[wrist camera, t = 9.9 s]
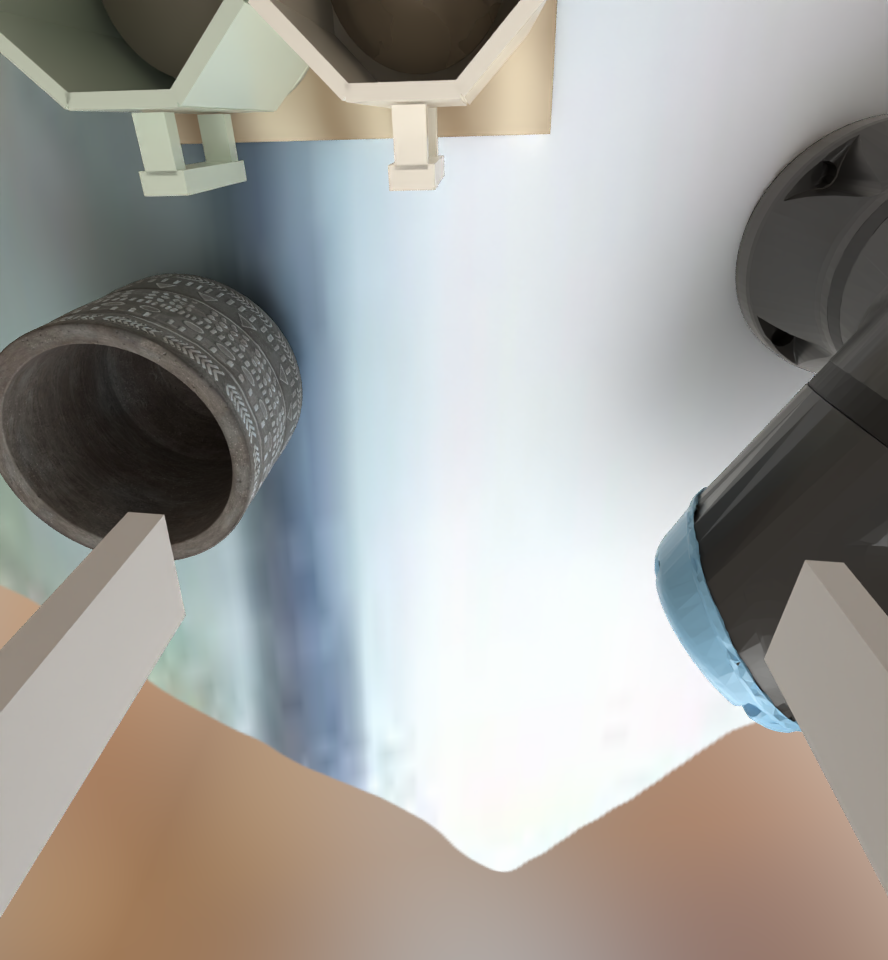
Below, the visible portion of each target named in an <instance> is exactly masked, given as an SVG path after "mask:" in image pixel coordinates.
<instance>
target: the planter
mask: <svg viewBox="0 0 888 960" xmlns="http://www.w3.org/2000/svg"><path fill="white" fill-rule="evenodd" d="M301 406H302V382H301V376H300V371H299V367H298V364H297V361H296V358H295V356H294V353H293V351H292V349H291V347H290V345H289V343H288V341H287V340H286V338H285V336H284V335H283V333H282V332H281V331H280V329H279V328H278V326H277V325H276V324H275V323H274V321H273V320H272V319H271V318H270V317H269V316H268V315H267V314H266V313H265V312H264V311H263V310H262V309H261V308H260V307H259V306H257V305H256V304H255V303H254V302H252V301H251V300H250V299H248V298H247V297H246V296H244V295H243V294H241V293H239V292H238V291H236V290H234V289H232V288H230V287H229V286H226V285H224V284H222V283H219V282H217V281H214V280H211V279H208V278H204V277H201V276H196V275H189V274H176V273H175V274H161V275H155V276H151V277H147V278H144V279H141V280H138V281H135V282H133V283H130V284H128V285H126V286H123V287H121V288H119V289H117V290H115V291H113V292H111V293H109V294H107V295H106V296H104V297H102V298H100V299H97V300H95V301H93V302H91V303H88V304H86V305H84V306H81V307H79V308H77V309H75V310H73V311H71V312H69V313H67V314H64V315H63V316H61V317H59V318H57V319H55V320H53V321H51V322H49V323H48V324H45V325H43V326H41V327H39V328H37V329H34V330H32V331H30V332H28V333H26V334H24V335H22V336H21V337H19V338H17V339H16V340H15V341H13V342H12V343H10V344H9V345H8V346H7V347H6V348H5V349H4V350H3V351H2V352H1V353H0V473H1V475H2V477H3V478H4V480H5V481H6V483H7V484H8V485H9V487H10V488H11V489H12V491H13V492H14V493H15V494H16V496H17V497H18V498H19V499H20V500H21V501H22V502H23V503H24V504H25V505H26V506H27V507H28V508H29V509H30V510H31V511H32V512H33V513H34V514H35V515H36V516H37V517H39V518H40V519H41V520H42V521H44V522H45V523H46V524H48V525H49V526H50V527H52V528H53V529H55V530H56V531H58V532H59V533H61V534H63V535H64V536H66V537H68V538H69V539H71V540H73V541H75V542H77V543H79V544H81V545H83V546H86V547H88V548H90V549H94V548H95V547H96V546H97V545H98V544H99V543H100V542H101V541H102V540H103V539H104V537H105V536H106V535H107V534H108V533H109V532H110V531H111V530H112V529H113V528H114V527H115V526H116V525H117V523H118V522H119V521H120V520H121V519H122V518H123V517H124V516H125V515H126V514H127V513H128V512H134V513H148V514H162V515H164V516H165V520H166V525H167V530H168V534H169V539H170V544H171V549H172V553H173V558H174V560H179V559H184V558H188V557H191V556H194V555H197V554H200V553H202V552H204V551H206V550H208V549H210V548H212V547H214V546H215V545H217V544H218V543H219V542H221V541H222V540H223V539H225V538H226V537H227V536H228V535H229V534H230V533H231V532H232V530H233V529H234V528H235V527H236V525H237V524H238V523H239V521H240V520H241V518H242V516H243V514H244V513H245V511H246V509H247V508H248V506H249V504H250V503H251V501H252V500H253V498H254V497H255V495H256V493H257V492H258V490H259V488H260V487H261V485H262V484H263V482H264V480H265V478H266V477H267V475H268V473H269V472H270V470H271V468H272V467H273V465H274V463H275V462H276V461H277V459H278V458H279V456H280V455H281V453H282V452H283V450H284V449H285V447H286V445H287V443H288V442H289V440H290V438H291V436H292V434H293V432H294V430H295V428H296V425H297V423H298V420H299V417H300V413H301Z"/></svg>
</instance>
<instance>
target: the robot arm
mask: <svg viewBox="0 0 888 960" xmlns="http://www.w3.org/2000/svg"><path fill="white" fill-rule="evenodd" d="M736 291H737V298H738V302H739V306H740V309H741V312H742V314H743V317H744V319H745V321H746V323H747V324H748V326H749V328H750V329H751V331H752V332H753V333H754V335H755V336H756V337H757V338H758V339H759V340H760V341H761V342H762V343H763V344H764V345H765V346H767V347H768V348H769V349H770V350H772V351H773V352H774V353H775V354H777V355H778V356H779V357H781V358H782V359H784V360H785V361H787V362H789V363H791V364H793V365H795V366H797V367H799V368H802V369H805V370H808V371H811V372H814V373H817V374H816V375H815V376H814V377H813V378H812V379H811V381H810V382H808V384H806V385H805V386H804V387H803V388H802V389H801V390H800V391H799V392H798V393H797V394H796V395H795V396H794V397H793V398H792V399H791V400H790V402H789V403H788V404H787V405H786V406H785V407H784V408H783V409H782V410H781V411H780V412H779V413H778V414H777V415H776V416H775V417H774V418H773V419H772V420H771V422H770V423H769V424H768V425H767V426H766V427H765V428H764V429H763V430H762V431H761V432H760V433H759V434H758V435H757V436H756V437H755V438H754V439H753V441H752V442H751V443H750V444H749V445H748V446H747V447H746V448H745V449H744V450H743V451H742V452H741V453H740V454H739V455H738V456H737V457H736V458H735V460H734V461H733V462H732V463H731V464H730V465H729V466H728V467H727V468H726V469H725V470H724V471H723V472H722V473H721V474H720V475H719V476H718V477H717V478H716V479H715V480H714V481H713V482H712V483H711V484H710V485H709V486H708V487H705V488H703V489H702V490H700V491H699V492H698V493H697V494H696V495H695V497H693V499H692V501H691V503H690V506H689V508H688V509H687V511H686V512H685V513H684V514H683V515H682V517H681V518H680V519H679V520H678V521H677V523H676V524H675V525H674V526H673V527H672V529H671V530H670V531H669V532H668V533H667V534H666V535H665V537H664V538H663V540H662V541H661V543H660V545H659V547H658V549H657V553H656V556H655V574H656V587H657V591H658V595H659V599H660V601H661V604H662V607H663V609H664V612H665V614H666V616H667V619H668V621H669V623H670V625H671V627H672V629H673V631H674V632H675V634H676V636H677V637H678V639H679V641H680V642H681V644H682V646H683V647H684V648H685V650H686V651H687V653H688V654H689V656H690V657H691V659H692V660H693V662H694V663H695V664H696V666H697V667H698V668H699V669H700V671H701V672H702V673H703V675H704V676H705V677H706V678H707V679H708V680H709V682H710V683H711V684H712V685H713V686H714V687H715V688H716V689H717V690H718V691H719V692H720V693H721V694H722V695H723V696H724V697H725V698H726V699H727V700H728V701H729V702H730V703H732V704H733V705H735V706H741V705H742V707H743V708H744V710H745V712H746V714H747V715H748V717H749V718H750V719H752V720H754V721H755V722H757V723H758V724H760V725H762V726H764V727H766V728H768V729H771V730H774V731H779V732H786V733H790V732H794V731H802V732H803V735H804V736H805V738H806V740H807V742H808V744H809V746H810V748H811V750H812V752H813V754H814V756H815V757H816V760H817V761H818V763H819V765H820V767H821V769H822V771H823V773H824V775H825V777H826V779H827V781H828V783H829V784H830V786H831V788H832V790H833V792H834V794H835V796H836V798H837V800H838V801H839V804H840V806H841V807H842V809H843V811H844V813H845V815H846V817H847V819H848V821H849V823H850V825H851V827H852V829H853V830H854V832H855V834H856V836H857V838H858V840H859V842H860V844H861V846H862V848H863V850H864V852H865V854H866V855H867V857H868V859H869V861H870V863H871V865H872V867H873V869H874V871H875V873H876V875H877V877H878V878H879V880H880V882H881V884H882V886H883V888H884V890H885V892H886V894H887V895H888V114H886V115H879V116H875V117H871V118H867V119H864V120H860V121H857V122H855V123H852V124H849V125H847V126H845V127H843V128H840V129H838V130H836V131H835V132H833V133H831V134H829V135H827V136H825V137H824V138H822V139H821V140H819V141H817V142H816V143H815V144H813V145H812V146H810V147H809V148H808V149H806V150H805V151H804V152H803V153H801V154H800V155H799V156H798V157H797V158H795V159H794V160H793V161H792V162H791V163H790V164H789V165H788V166H787V167H786V168H785V169H784V170H783V171H782V172H781V173H780V174H779V176H778V177H777V178H776V179H775V180H774V181H773V183H772V184H771V185H770V186H769V188H768V189H767V190H766V192H765V193H764V195H763V196H762V198H761V199H760V201H759V203H758V204H757V206H756V208H755V209H754V211H753V213H752V215H751V217H750V219H749V222H748V224H747V226H746V229H745V231H744V234H743V237H742V240H741V243H740V247H739V251H738V257H737V263H736ZM185 616H186V614H185V609H184V605H183V600H182V595H181V591H180V586H179V581H178V577H177V572H176V567H175V563H174V558H173V553H172V549H171V544H170V539H169V534H168V530H167V525H166V520H165V516H164V515H162V514H148V513H134V512H128V513H127V514H126V515H125V516H124V517H123V518H122V519H121V520H120V521H119V522H118V523H117V525H116V526H115V527H114V528H113V529H112V530H111V531H110V532H109V533H108V534H107V535H106V536H105V537H104V539H103V540H102V541H101V542H100V543H99V544H98V545H97V546H96V547H95V548H94V549H93V550H92V552H91V553H90V554H89V555H88V556H87V557H86V558H85V559H84V560H83V561H82V562H81V563H80V564H79V566H78V567H77V568H76V569H75V570H74V571H73V572H72V573H71V574H70V575H69V576H68V577H67V579H66V580H65V581H64V582H63V583H62V584H61V585H60V586H59V587H58V588H57V589H56V590H55V591H54V593H53V594H52V595H51V596H50V597H49V598H48V599H47V600H46V601H45V602H44V603H43V604H42V606H41V607H40V608H39V609H38V610H37V611H36V612H35V613H34V614H33V615H32V616H31V618H30V619H29V620H28V621H27V622H26V623H25V624H24V625H23V626H22V627H21V628H20V629H19V630H18V631H17V633H16V634H15V635H14V636H13V637H12V638H11V639H10V640H9V641H8V642H7V643H6V644H5V645H4V647H3V648H2V649H1V650H0V918H1V916H2V914H3V912H4V911H5V909H6V908H7V906H8V904H9V903H10V901H11V900H12V898H13V896H14V895H15V893H16V891H17V890H18V888H19V887H20V885H21V883H22V881H23V880H24V878H25V877H26V875H27V873H28V872H29V870H30V869H31V867H32V865H33V864H34V862H35V860H36V859H37V857H38V855H39V854H40V852H41V851H42V849H43V847H44V846H45V844H46V842H47V841H48V839H49V838H50V836H51V834H52V833H53V831H54V829H55V828H56V826H57V825H58V823H59V821H60V820H61V818H62V816H63V815H64V813H65V811H66V810H67V808H68V807H69V805H70V803H71V802H72V800H73V798H74V797H75V795H76V794H77V792H78V790H79V789H80V787H81V785H82V784H83V782H84V780H85V779H86V777H87V776H88V774H89V772H90V771H91V769H92V767H93V766H94V764H95V762H96V761H97V759H98V758H99V756H100V754H101V753H102V751H103V749H104V748H105V746H106V745H107V743H108V741H109V740H110V738H111V736H112V735H113V733H114V732H115V730H116V728H117V726H118V725H119V723H120V722H121V720H122V718H123V717H124V715H125V714H126V712H127V710H128V709H129V707H130V705H131V704H132V702H133V701H134V699H135V697H136V696H137V694H138V692H139V691H140V689H141V687H142V686H143V684H144V683H145V681H146V679H147V678H148V676H149V674H150V673H151V671H152V670H153V668H154V666H155V665H156V663H157V661H158V660H159V658H160V657H161V655H162V653H163V652H164V650H165V648H166V647H167V645H168V643H169V642H170V640H171V639H172V637H173V635H174V634H175V632H176V630H177V629H178V627H179V626H180V624H181V622H182V621H183V619H184V617H185Z"/></svg>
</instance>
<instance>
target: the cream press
mask: <svg viewBox="0 0 888 960" xmlns="http://www.w3.org/2000/svg"><path fill="white" fill-rule="evenodd" d="M546 1H547V0H502V4H501V7H500V9H499V12H498V14H497V17H496V19H495V21H494V23H493V25H492V27H491V29H490V30H489V32H488V33H487V35H486V36H485V38H484V39H483V41H482V42H481V43H480V44H479V45H478V46H477V48H476V49H475V50H474V51H473V52H472V53H471V54H469V55H468V56H467V57H466V58H465V59H464V60H462V61H460V62H459V63H457V64H456V65H454V66H452V67H450V68H448V69H445V70H443V71H440V72H436V73H432V74H424V75H413V74H405V73H401V72H397V71H394V70H392V69H389V68H387V67H385V66H383V65H381V64H379V63H378V62H376V61H374V60H373V59H372V58H370V57H369V56H368V55H366V54H365V53H364V52H363V51H362V50H361V49H360V48H359V47H358V46H357V45H356V44H355V43H354V42H353V40H352V39H351V38H350V37H349V36H348V34H347V33H346V31H345V29H344V28H343V26H342V25H341V23H340V21H339V19H338V17H337V15H336V13H335V11H334V9H333V6H332V3H331V0H249V1H248V3H249V4H250V5H251V6H252V7H253V8H254V9H255V10H256V11H257V12H258V14H259V15H260V16H261V17H262V18H263V19H264V20H265V21H266V22H267V23H268V24H269V25H270V26H271V27H272V28H273V29H274V30H275V31H276V32H277V33H278V34H279V35H280V36H281V37H282V38H283V40H284V41H285V42H286V43H287V44H288V45H289V46H290V47H291V48H292V49H293V50H294V51H295V52H296V53H297V54H298V55H299V56H300V57H301V58H302V59H303V60H304V61H305V62H306V63H307V65H308V66H309V67H310V68H311V69H312V70H313V71H314V72H315V73H316V74H317V75H318V76H319V77H320V78H321V79H322V80H323V81H324V82H325V83H326V84H327V85H328V86H329V87H330V88H331V89H332V91H333V92H334V93H335V94H336V95H337V96H338V97H339V98H340V99H341V100H342V101H346V102H349V103H356V104H362V105H369V106H376V107H383V108H392V124H393V141H394V159H395V162H394V163H392V164H390V165H388V175H389V191H410V190H436V188H437V187H438V185H439V183H440V182H441V180H442V179H443V177H444V155H438V119H437V108H436V107H450V106H467V103H468V104H469V105H470V104H471V102H472V101H473V100H474V99H475V98H476V96H477V95H478V94H479V93H480V92H481V90H482V89H483V88H484V87H485V86H486V84H487V83H488V82H489V81H490V80H491V78H492V77H493V76H494V75H495V74H496V73H497V72H498V70H499V69H500V68H501V66H502V65H503V64H504V63H505V62H506V60H507V59H508V58H509V57H510V56H511V54H512V53H513V52H514V51H515V50H516V48H517V47H518V46H519V45H520V44H521V42H522V41H523V40H524V39H525V38H526V36H527V35H528V34H529V32H530V30H531V28H532V26H533V24H534V23H535V21H536V19H537V17H538V15H539V13H540V12H541V10H542V8H543V6H544V4H545V2H546ZM427 107H435V108H427Z"/></svg>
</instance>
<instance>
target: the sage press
mask: <svg viewBox="0 0 888 960" xmlns="http://www.w3.org/2000/svg"><path fill="white" fill-rule="evenodd" d="M248 1H249V0H0V52H1V53H2V54H3V55H4V56H5V57H6V58H7V59H9V60H10V61H11V62H12V63H13V64H14V65H15V66H17V67H18V68H19V69H20V70H21V71H22V72H23V73H25V74H26V75H27V76H28V77H29V78H30V79H31V80H32V81H34V82H35V83H36V84H37V85H38V86H39V87H40V88H42V89H43V90H44V91H45V92H46V93H47V94H48V95H50V96H51V97H52V98H53V99H54V100H55V101H56V102H58V103H59V104H60V105H61V106H62V107H63V108H64V109H69V111H102V112H139V113H132V118H133V122H134V126H135V130H136V135H137V139H138V143H139V147H140V151H141V156H142V160H143V164H144V168H145V171H139V175H140V179H141V184H142V188H143V192H144V196H188V195H192V194H196V193H200V192H204V191H208V190H212V189H216V188H220V187H224V186H228V185H232V184H236V183H240V182H244V181H247V178H246V172H245V166H244V160H243V161H238V157H237V151H236V145H235V139H234V133H233V127H232V121H231V115H230V114H218V113H251V112H274V111H276V110H277V109H278V107H279V106H280V105H281V103H282V102H283V100H284V99H285V97H287V96H288V95H289V94H290V93H291V92H292V91H293V90H294V89H295V88H296V87H297V86H298V85H299V84H300V82H301V81H302V80H303V79H304V77H305V75H306V74H307V72H308V70H309V69H310V67H309V66H308V65H307V63H306V62H305V61H304V60H303V59H302V58H301V57H300V56H299V55H298V54H297V53H296V52H295V51H294V50H293V49H292V48H291V47H290V46H289V45H288V44H287V43H286V42H285V41H284V40H283V38H282V37H281V36H280V35H279V34H278V33H277V32H276V31H275V30H274V29H273V28H272V27H271V26H270V25H269V24H268V23H267V22H266V21H265V20H264V19H263V18H262V17H261V16H260V15H259V14H258V12H257V11H256V10H255V9H254V8H253V7H252V6H251V5H250V4H249V3H248ZM174 113H177V114H202V115H197V117H198V122H199V127H200V132H201V138H202V143H203V148H204V153H205V158H206V162H200V163H194V164H187V165H185V163H184V158H183V153H182V149H181V144H180V139H179V134H178V129H177V124H176V120H175V115H174Z"/></svg>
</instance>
